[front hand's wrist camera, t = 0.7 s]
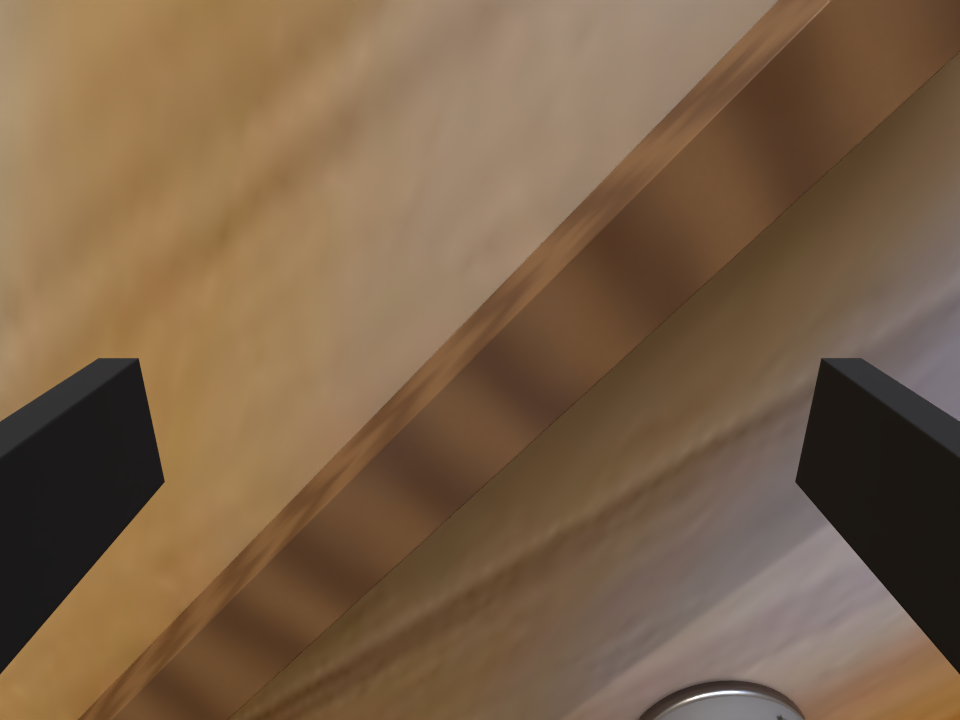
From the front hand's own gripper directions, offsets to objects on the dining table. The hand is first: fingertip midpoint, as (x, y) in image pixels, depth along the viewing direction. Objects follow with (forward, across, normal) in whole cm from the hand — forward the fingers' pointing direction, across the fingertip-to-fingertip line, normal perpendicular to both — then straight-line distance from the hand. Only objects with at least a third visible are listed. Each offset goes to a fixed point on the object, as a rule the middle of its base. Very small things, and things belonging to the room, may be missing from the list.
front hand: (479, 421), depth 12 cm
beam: (+27, +3, +13) cm, 30 cm away
